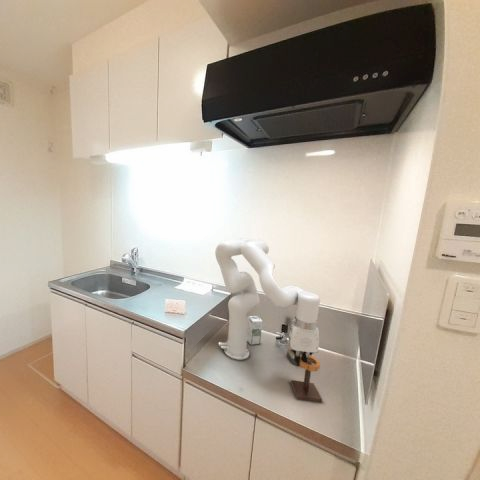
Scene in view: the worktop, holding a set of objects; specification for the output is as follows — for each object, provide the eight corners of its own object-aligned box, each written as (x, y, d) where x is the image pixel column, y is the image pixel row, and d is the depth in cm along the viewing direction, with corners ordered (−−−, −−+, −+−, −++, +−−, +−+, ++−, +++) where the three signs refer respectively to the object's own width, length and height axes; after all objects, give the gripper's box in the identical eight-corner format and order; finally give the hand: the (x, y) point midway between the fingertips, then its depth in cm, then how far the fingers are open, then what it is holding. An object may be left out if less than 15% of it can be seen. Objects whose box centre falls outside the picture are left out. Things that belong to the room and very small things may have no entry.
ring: (301, 369, 101) (302, 365, 101) (295, 357, 109) (295, 353, 108) (322, 372, 100) (322, 367, 100) (314, 359, 108) (314, 355, 107)
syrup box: (254, 338, 146) (256, 315, 143) (260, 344, 140) (262, 320, 138) (245, 339, 145) (247, 315, 142) (250, 345, 139) (252, 321, 137)
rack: (297, 398, 103) (300, 369, 101) (290, 382, 112) (293, 355, 109) (321, 402, 102) (325, 372, 99) (312, 386, 110) (316, 358, 108)
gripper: (287, 325, 100) (282, 366, 103) (331, 330, 97) (324, 372, 100) (282, 316, 107) (277, 355, 110) (323, 320, 104) (317, 360, 107)
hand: (300, 363), depth 105 cm, fingers closed on ring, 1 cm apart
